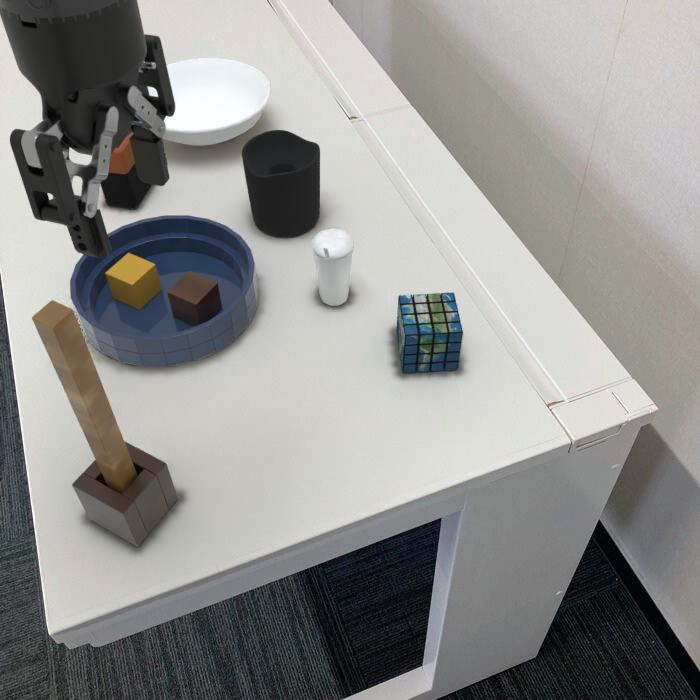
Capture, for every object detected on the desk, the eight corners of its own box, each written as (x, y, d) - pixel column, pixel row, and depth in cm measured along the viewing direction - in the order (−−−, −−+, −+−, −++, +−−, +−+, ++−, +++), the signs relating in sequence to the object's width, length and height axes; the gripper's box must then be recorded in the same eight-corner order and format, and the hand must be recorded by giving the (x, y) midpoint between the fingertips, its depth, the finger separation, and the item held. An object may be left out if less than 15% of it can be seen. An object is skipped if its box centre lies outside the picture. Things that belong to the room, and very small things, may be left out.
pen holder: (315, 190, 104) (312, 125, 96) (329, 235, 98) (326, 168, 90) (246, 200, 102) (237, 134, 95) (255, 245, 96) (246, 179, 89)
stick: (135, 522, 71) (52, 327, 51) (118, 512, 71) (30, 317, 52) (149, 505, 72) (73, 309, 52) (133, 496, 73) (51, 299, 53)
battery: (155, 180, 106) (140, 115, 98) (136, 210, 101) (119, 144, 94) (125, 176, 106) (108, 111, 99) (105, 206, 102) (85, 141, 94)
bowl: (133, 106, 118) (124, 67, 113) (260, 88, 121) (256, 49, 117) (145, 181, 105) (135, 140, 101) (287, 158, 109) (284, 118, 104)
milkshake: (308, 311, 89) (304, 244, 81) (320, 280, 92) (317, 213, 85) (346, 318, 88) (346, 251, 80) (357, 286, 91) (357, 219, 84)
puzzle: (402, 373, 82) (404, 335, 78) (396, 332, 86) (398, 294, 82) (457, 370, 83) (463, 332, 78) (449, 329, 87) (454, 291, 82)
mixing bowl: (186, 397, 80) (178, 366, 77) (44, 327, 87) (30, 296, 83) (291, 281, 92) (288, 249, 88) (158, 228, 99) (150, 196, 95)
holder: (138, 547, 69) (123, 514, 65) (89, 519, 71) (71, 484, 66) (178, 498, 72) (166, 463, 68) (130, 472, 74) (116, 436, 70)
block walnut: (201, 330, 86) (195, 304, 83) (173, 317, 87) (166, 291, 84) (222, 307, 88) (217, 282, 85) (194, 295, 90) (189, 270, 87)
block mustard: (139, 310, 88) (132, 284, 85) (113, 298, 89) (104, 272, 86) (162, 289, 90) (155, 263, 87) (135, 277, 92) (128, 252, 89)
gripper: (72, -71, 48) (128, 153, 60) (-79, 29, 39) (23, 269, 51) (181, -58, 47) (217, 170, 59) (51, 50, 37) (124, 293, 49)
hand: (127, 216), depth 55 cm, fingers open, 8 cm apart
